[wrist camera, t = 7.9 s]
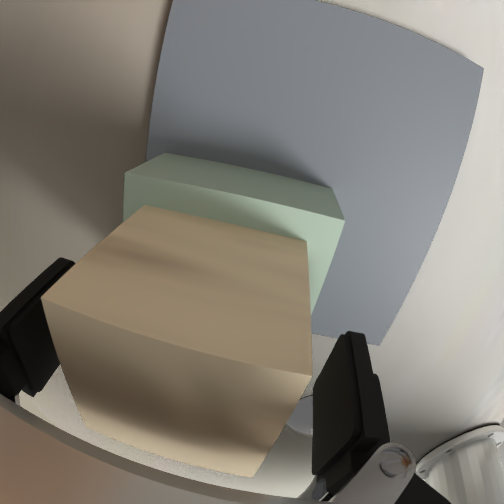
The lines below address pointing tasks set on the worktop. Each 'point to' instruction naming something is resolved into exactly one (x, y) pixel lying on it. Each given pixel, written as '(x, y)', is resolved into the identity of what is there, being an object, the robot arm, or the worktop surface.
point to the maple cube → (186, 337)
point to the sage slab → (242, 203)
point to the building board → (325, 129)
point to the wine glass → (304, 425)
